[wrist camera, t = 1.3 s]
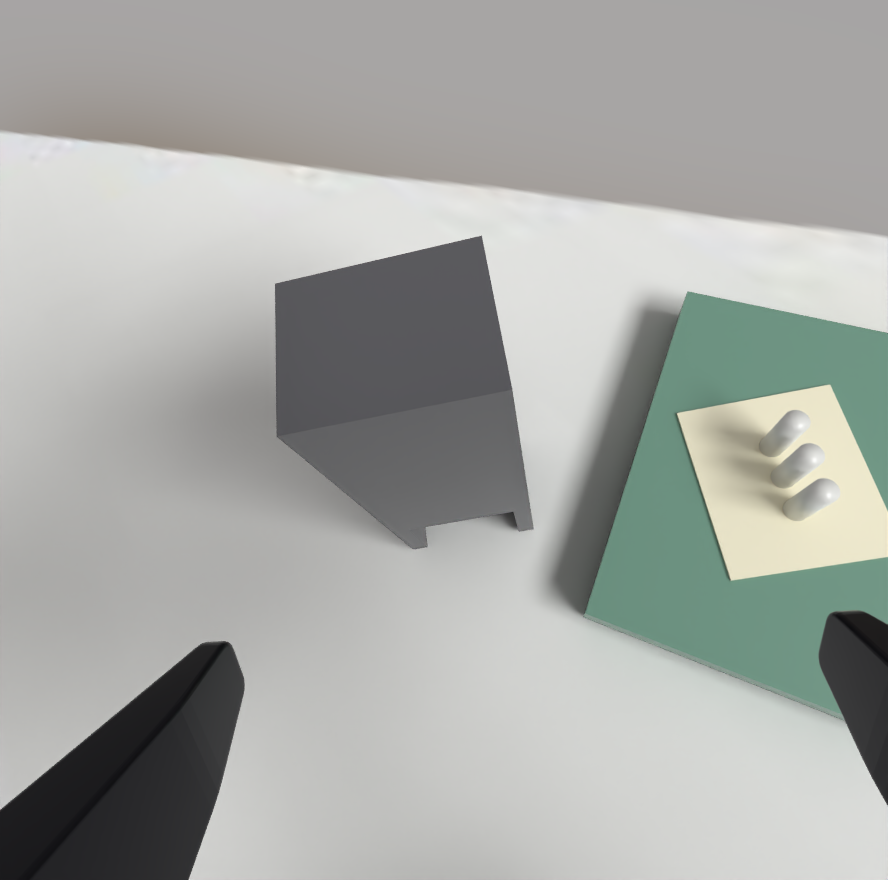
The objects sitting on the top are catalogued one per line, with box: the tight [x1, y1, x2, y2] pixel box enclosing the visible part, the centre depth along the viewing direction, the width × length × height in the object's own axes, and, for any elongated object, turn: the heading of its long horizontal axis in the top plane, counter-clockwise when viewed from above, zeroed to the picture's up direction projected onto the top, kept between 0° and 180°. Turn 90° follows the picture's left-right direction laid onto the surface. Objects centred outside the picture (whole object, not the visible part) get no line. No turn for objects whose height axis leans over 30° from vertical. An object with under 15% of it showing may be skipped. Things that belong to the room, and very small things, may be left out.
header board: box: [583, 292, 888, 720], centre depth 20 cm, size 14×10×4 cm
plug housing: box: [275, 236, 533, 549], centre depth 18 cm, size 4×5×12 cm
